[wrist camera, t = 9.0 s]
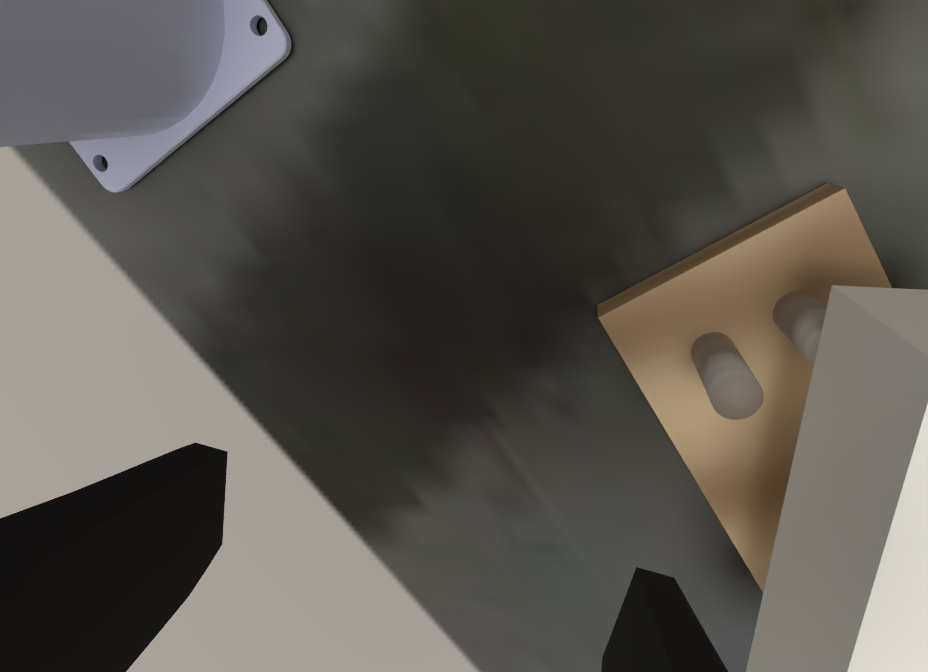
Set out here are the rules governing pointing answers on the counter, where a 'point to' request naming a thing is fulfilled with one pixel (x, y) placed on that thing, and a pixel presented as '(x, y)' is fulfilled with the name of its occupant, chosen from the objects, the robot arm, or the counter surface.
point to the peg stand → (743, 352)
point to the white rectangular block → (856, 499)
